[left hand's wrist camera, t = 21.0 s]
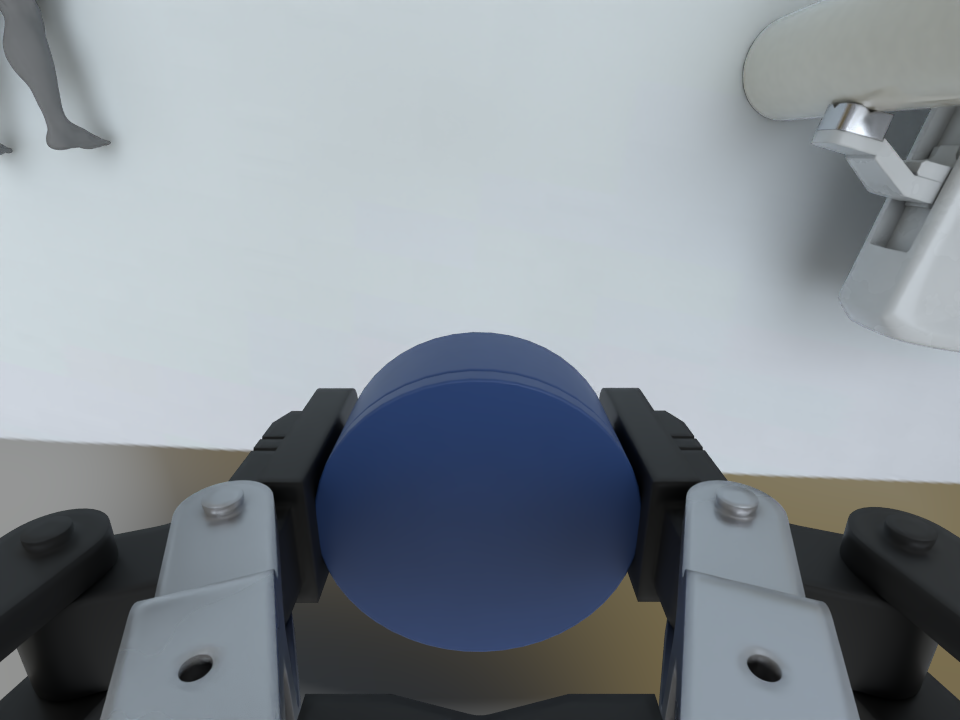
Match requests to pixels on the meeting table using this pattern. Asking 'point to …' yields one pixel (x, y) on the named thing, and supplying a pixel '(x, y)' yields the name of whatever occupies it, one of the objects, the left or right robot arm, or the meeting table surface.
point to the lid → (478, 496)
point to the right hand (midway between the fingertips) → (864, 38)
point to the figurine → (40, 74)
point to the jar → (856, 58)
